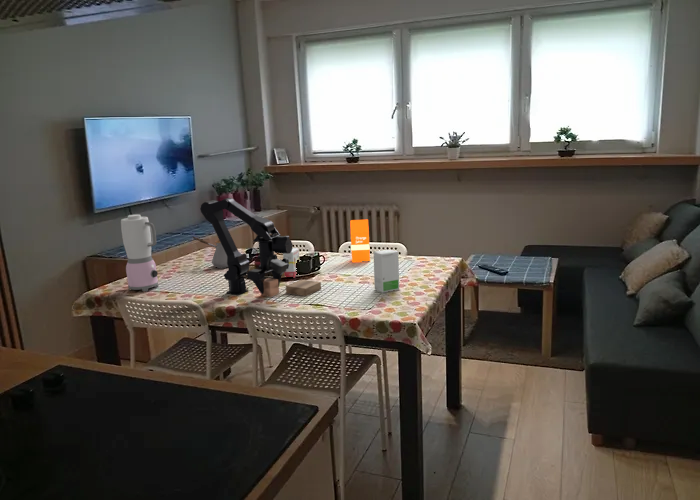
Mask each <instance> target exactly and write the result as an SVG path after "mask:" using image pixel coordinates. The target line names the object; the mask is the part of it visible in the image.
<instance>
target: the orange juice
mask: <svg viewBox="0 0 700 500" xmlns="http://www.w3.org/2000/svg"><path fill="white" fill-rule="evenodd" d="M369 229H370V228H369V219H351V220H350V250H351V262H352V263H363V262H362V261H370V262H371V253H370V249H371V248H370V231H369Z"/></svg>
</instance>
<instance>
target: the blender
mask: <svg viewBox="0 0 700 500" xmlns="http://www.w3.org/2000/svg"><path fill="white" fill-rule="evenodd" d="M120 228H121V229H120V230H121V237H122V242H123V243H122V244H123V247H124V251H125V253H126V256H127V262H126V265H125V272H126V277H127V278H126V279H127V287H128V290H129V289H131V290H133V291H134V290H135V291H136V290H139V291H140V290H142V292H143V291H146V292H149V289H151V288H153V287H155V288H159V280H158V275H159V273H158V270H157V265H156V262H155V260H154V258H153V257H152V247H154V246H156V245H157V235H156V234H157V232H156V227H155V225H154V223H152V222H150V221H149V217H148V216H141V214H129V215H127V218H126V217H125V218H121V220H120Z"/></svg>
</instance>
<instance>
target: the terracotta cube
mask: <svg viewBox="0 0 700 500" xmlns="http://www.w3.org/2000/svg"><path fill="white" fill-rule="evenodd" d="M263 283H264V294H261V293H260V295H261V296H263V297H270V298H272V297H274V296H277V295H279V294H280V284H279V285H278V279H273V277H272V278H271V277H268V278H266V279H265V280H264V282H263Z"/></svg>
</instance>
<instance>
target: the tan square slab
mask: <svg viewBox="0 0 700 500" xmlns="http://www.w3.org/2000/svg"><path fill="white" fill-rule="evenodd" d="M321 283H322V282H321V281H315V280H308V279H307V280H306V279H299V280H297V281H295V282H292V283H289V284H287V285H285V291H286V292H285V293H286V294H291V295H298V296H304V297H307V296H309V295H312V294H314V293H316V292H319V291H320V290H322V284H321Z"/></svg>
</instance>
